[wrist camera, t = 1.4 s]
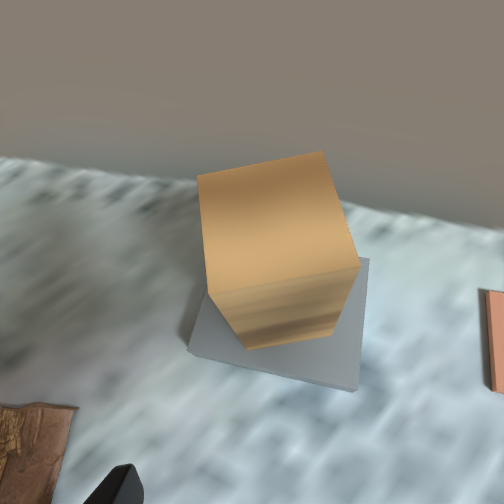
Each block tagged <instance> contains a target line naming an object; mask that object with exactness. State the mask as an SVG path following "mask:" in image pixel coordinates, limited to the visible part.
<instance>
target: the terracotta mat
mask: <svg viewBox="0 0 504 504" xmlns="http://www.w3.org/2000/svg"><path fill="white" fill-rule="evenodd" d="M486 307H487V322H488V337H489V352H490V367H491V382H492V391H493V392H497V393H502V394H504V293H500V292H494V291H489V292H487V293H486Z"/></svg>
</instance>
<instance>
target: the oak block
mask: <svg viewBox="0 0 504 504" xmlns="http://www.w3.org/2000/svg"><path fill="white" fill-rule="evenodd" d="M197 183H198V194H199V204H200V214H201V224H202V235H203V245H204V255H205V265H206V275H207V286H208V295H209V296H210V297H211V299H212V300H213V302H214V303H215V305H216V306H217V308H218V309H219V310H220V312H221V313H222V315H223V316H224V318H225V319H226V321H227V322H228V323H229V325H230V326H231V328H232V329H233V331H234V332H235V334H236V335H237V336H238V338H239V339H240V341H241V342H242V344H243V345H244V347H245V348H246V350H247V351H249V350H255V349H260V348H266V347H272V346H277V345H283V344H288V343H294V342H299V341H305V340H310V339H316V338H321V337H327V336H331V335H332V333H333V330H334V328H335V326H336V323H337V321H338V319H339V316H340V314H341V312H342V309H343V307H344V305H345V302H346V300H347V298H348V295H349V293H350V291H351V288H352V286H353V284H354V281H355V279H356V277H357V274H358V272H359V270H360V267H361V263H360V260H359V257H358V255H357V252H356V249H355V246H354V243H353V240H352V237H351V234H350V231H349V228H348V225H347V222H346V219H345V216H344V213H343V210H342V207H341V204H340V201H339V198H338V196H337V192H336V190H335V187H334V184H333V181H332V178H331V175H330V172H329V169H328V166H327V163H326V160H325V157H324V154H323V151H318V152H313V153H308V154H303V155H298V156H293V157H288V158H284V159H278V160H273V161H269V162H263V163H258V164H253V165H248V166H243V167H238V168H233V169H228V170H223V171H218V172H213V173H208V174H203V175H198V176H197Z"/></svg>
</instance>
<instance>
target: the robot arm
mask: <svg viewBox="0 0 504 504" xmlns="http://www.w3.org/2000/svg"><path fill="white" fill-rule="evenodd" d="M143 501H144V489H143V486H142V483H141V481H140V478H139V476H138V473H137V471H136V468H135V466H134V465H133V464H124V465H119V466H116V467H114V468H113V469H112V470H111V471H110V473H109V474H108V475H107V476H106V477H105V478H104V480H103V481H102V482H101V483H100V484H99V486H98V487H97V488H96V489H95V490H94V491H93V493H92V494H91V495H90V496H89V497H88V498H87V500H86V501H85V502H84V503H83V504H143Z"/></svg>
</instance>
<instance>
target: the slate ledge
mask: <svg viewBox="0 0 504 504" xmlns="http://www.w3.org/2000/svg"><path fill="white" fill-rule="evenodd" d="M359 260H360V263H361V267H360V270H359V272H358V274H357V277H356V279H355V281H354V284H353V286H352V288H351V291H350V293H349V295H348V298H347V300H346V302H345V305H344V307H343V309H342V312H341V314H340V316H339V319H338V321H337V323H336V326H335V328H334V330H333V333H332V335H331V336H327V337H321V338H316V339H310V340H305V341H299V342H294V343H288V344H283V345H277V346H272V347H266V348H260V349H255V350H249V351H247V350H246V348H245V347H244V345H243V344H242V342H241V341H240V339H239V338H238V336H237V335H236V334H235V332H234V331H233V329H232V328H231V326H230V325H229V323H228V322H227V321H226V319H225V318H224V316H223V315H222V313H221V312H220V310H219V309H218V308H217V306H216V305H215V303H214V302H213V300H212V299H211V297H210V296H209V295H208V286H206V289H205V293H204V296H203V299H202V302H201V306H200V309H199V312H198V315H197V319H196V322H195V325H194V328H193V332H192V335H191V338H190V341H189V345H188V348H187V351H188V352H190V353H192V354H193V355H195V356H197V357H202V358H206V359H210V360H215V361H219V362H223V363H227V364H232V365H236V366H240V367H245V368H249V369H253V370H258V371H262V372H266V373H270V374H275V375H279V376H283V377H288V378H292V379H296V380H300V381H305V382H309V383H313V384H318V385H322V386H326V387H330V388H335V389H339V390H343V391H348V392H354V391H356V390H358V381H359V370H360V359H361V348H362V337H363V326H364V315H365V304H366V293H367V282H368V271H369V260H370V259H369V258H362V257H359Z"/></svg>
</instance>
